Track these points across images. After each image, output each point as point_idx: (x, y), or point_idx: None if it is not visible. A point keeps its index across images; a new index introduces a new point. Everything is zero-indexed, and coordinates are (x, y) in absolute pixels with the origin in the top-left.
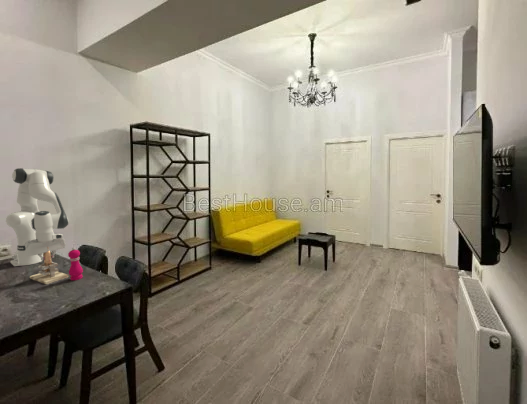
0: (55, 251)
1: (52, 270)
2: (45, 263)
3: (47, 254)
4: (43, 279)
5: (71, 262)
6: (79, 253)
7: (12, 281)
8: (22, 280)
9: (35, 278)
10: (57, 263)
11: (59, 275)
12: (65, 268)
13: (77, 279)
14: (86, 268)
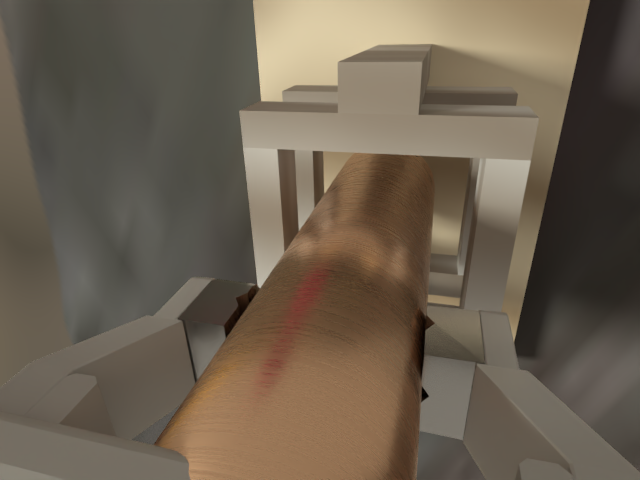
0: (25, 376)
1: (395, 51)
2: (427, 248)
3: (328, 369)
4: (540, 63)
5: None
6: None
7: (631, 430)
8: (576, 366)
9: (536, 236)
10: (242, 121)
11: (330, 12)
12: (173, 289)
13: None
14: (18, 58)
